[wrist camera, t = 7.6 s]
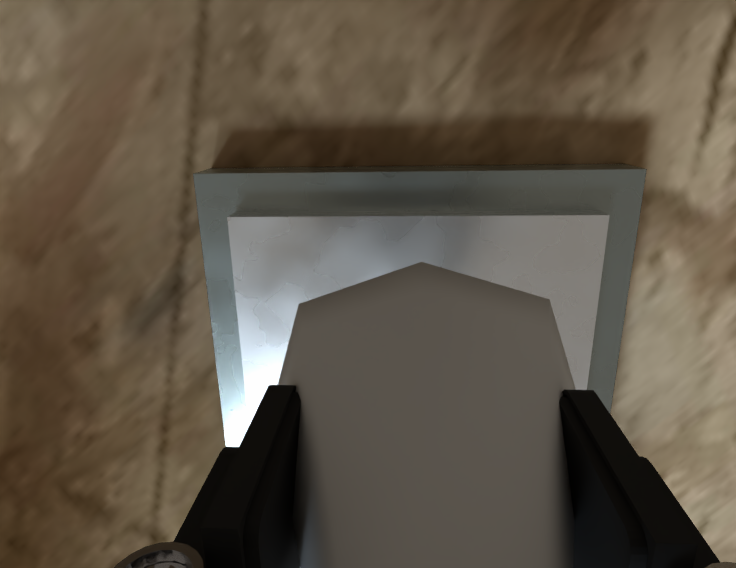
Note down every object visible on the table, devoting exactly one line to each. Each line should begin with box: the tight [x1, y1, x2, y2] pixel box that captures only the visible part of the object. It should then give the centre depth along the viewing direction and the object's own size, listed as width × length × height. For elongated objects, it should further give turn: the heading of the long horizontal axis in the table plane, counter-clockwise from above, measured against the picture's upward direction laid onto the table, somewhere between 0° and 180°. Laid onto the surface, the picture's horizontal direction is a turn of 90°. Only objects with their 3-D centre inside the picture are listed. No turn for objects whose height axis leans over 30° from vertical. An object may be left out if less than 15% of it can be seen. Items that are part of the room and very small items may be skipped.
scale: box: [193, 164, 647, 447], centre depth 20 cm, size 17×24×12 cm
